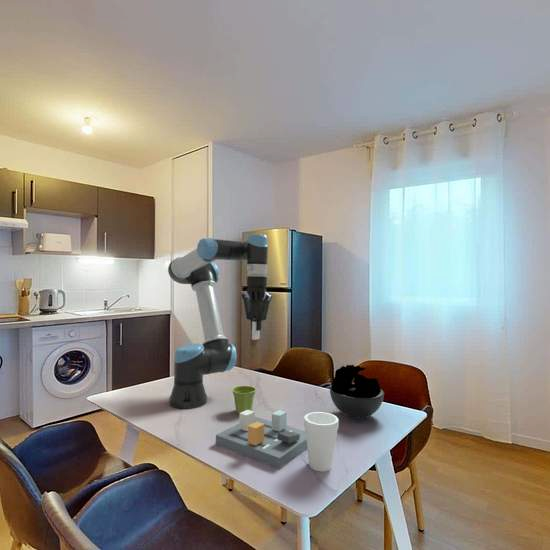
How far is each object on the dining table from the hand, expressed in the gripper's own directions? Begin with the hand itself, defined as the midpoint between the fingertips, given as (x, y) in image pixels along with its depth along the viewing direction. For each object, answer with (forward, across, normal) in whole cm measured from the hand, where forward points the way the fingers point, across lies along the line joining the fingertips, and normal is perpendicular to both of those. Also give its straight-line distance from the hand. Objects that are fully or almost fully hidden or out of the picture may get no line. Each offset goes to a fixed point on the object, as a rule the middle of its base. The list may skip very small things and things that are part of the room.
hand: (255, 339), depth 133 cm
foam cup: (+29, +36, -16) cm, 49 cm away
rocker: (+24, +25, -15) cm, 38 cm away
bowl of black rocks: (+29, +30, +24) cm, 48 cm away
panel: (+29, +16, -15) cm, 36 cm away
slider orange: (+26, +18, -21) cm, 38 cm away
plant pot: (+30, -7, +2) cm, 30 cm away
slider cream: (+26, +9, -15) cm, 31 cm away
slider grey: (+26, +18, -9) cm, 32 cm away
